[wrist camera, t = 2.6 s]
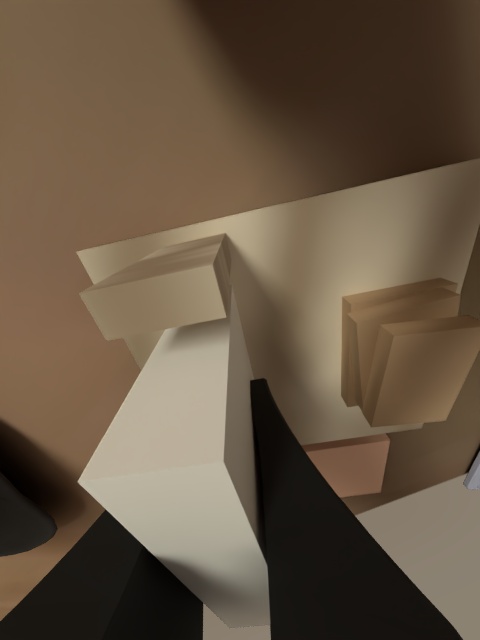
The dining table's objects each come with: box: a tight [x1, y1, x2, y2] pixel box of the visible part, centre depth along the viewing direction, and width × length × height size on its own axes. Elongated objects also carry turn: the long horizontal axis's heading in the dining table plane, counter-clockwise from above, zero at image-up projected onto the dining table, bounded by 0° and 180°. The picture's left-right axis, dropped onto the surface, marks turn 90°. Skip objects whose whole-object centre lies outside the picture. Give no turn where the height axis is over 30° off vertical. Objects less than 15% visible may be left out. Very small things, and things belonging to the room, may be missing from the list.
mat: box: [301, 433, 390, 497], centre depth 17 cm, size 12×7×1 cm, turn 102°
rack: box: [77, 158, 480, 445], centre depth 9 cm, size 15×14×6 cm
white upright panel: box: [78, 285, 270, 628], centre depth 8 cm, size 2×9×7 cm, turn 12°
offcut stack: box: [341, 278, 480, 427], centre depth 9 cm, size 4×6×2 cm
